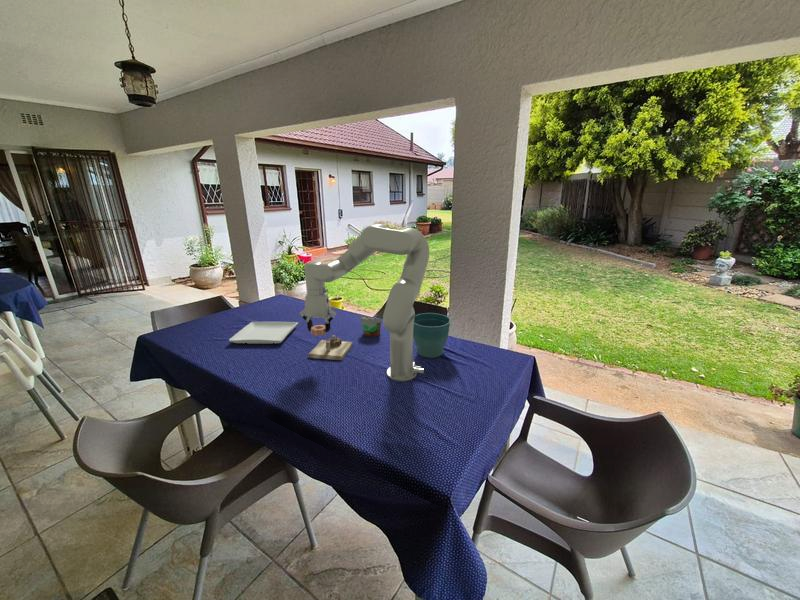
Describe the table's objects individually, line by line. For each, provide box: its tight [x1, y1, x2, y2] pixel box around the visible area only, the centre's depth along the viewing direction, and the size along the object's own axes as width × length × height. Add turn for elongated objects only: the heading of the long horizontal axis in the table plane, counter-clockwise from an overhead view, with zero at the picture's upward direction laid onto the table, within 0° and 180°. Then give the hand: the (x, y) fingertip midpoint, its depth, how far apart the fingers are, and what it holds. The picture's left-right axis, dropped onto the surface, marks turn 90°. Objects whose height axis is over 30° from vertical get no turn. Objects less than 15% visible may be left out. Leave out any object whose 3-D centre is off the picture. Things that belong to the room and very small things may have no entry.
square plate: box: [228, 321, 299, 345], centre depth 181 cm, size 27×27×4 cm
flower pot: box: [413, 312, 451, 359], centre depth 158 cm, size 18×18×17 cm
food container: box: [360, 314, 383, 338], centre depth 179 cm, size 12×6×10 cm, turn 62°
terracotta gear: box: [310, 324, 329, 337], centre depth 146 cm, size 7×7×2 cm
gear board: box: [308, 334, 353, 361], centre depth 161 cm, size 16×16×6 cm
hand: (319, 330), depth 146 cm, fingers closed on terracotta gear, 7 cm apart
